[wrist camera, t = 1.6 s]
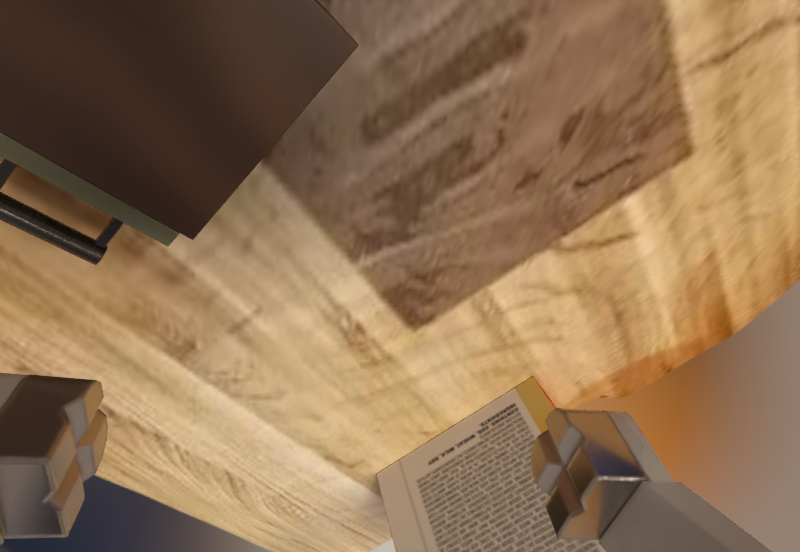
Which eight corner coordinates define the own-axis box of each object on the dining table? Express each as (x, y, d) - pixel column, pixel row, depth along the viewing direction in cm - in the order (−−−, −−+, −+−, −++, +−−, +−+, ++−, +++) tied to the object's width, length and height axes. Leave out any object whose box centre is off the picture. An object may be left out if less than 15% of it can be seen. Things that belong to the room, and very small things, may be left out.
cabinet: (199, 181, 36) (192, 240, 30) (1, 54, 29) (-62, 97, 23) (333, 17, 32) (359, 45, 26) (144, -176, 25) (116, -202, 19)
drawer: (137, 247, 37) (123, 300, 32) (-47, 151, 30) (-100, 199, 25) (300, 48, 32) (312, 74, 27) (122, -117, 26) (97, -121, 21)
